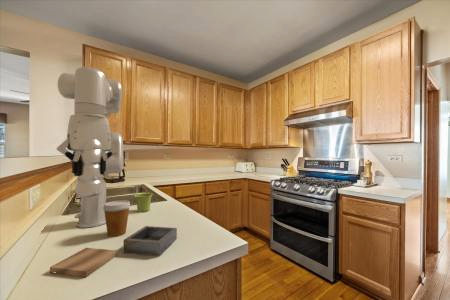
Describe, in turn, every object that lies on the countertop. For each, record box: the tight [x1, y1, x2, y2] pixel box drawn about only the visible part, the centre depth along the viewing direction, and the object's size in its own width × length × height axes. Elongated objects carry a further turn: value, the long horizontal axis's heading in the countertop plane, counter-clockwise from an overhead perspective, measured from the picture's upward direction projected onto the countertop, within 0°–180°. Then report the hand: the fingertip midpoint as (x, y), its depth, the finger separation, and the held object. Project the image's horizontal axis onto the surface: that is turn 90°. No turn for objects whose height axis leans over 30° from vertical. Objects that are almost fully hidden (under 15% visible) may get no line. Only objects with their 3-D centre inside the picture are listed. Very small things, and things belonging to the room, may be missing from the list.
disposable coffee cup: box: [103, 199, 131, 238], centre depth 77 cm, size 10×10×12 cm
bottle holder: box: [123, 225, 178, 257], centre depth 67 cm, size 12×12×4 cm
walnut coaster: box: [49, 247, 118, 278], centre depth 56 cm, size 11×11×2 cm
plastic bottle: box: [75, 139, 103, 198], centre depth 57 cm, size 6×7×20 cm
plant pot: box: [134, 192, 153, 213], centre depth 109 cm, size 9×9×9 cm
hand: (89, 174), depth 57 cm, fingers closed on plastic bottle, 5 cm apart
